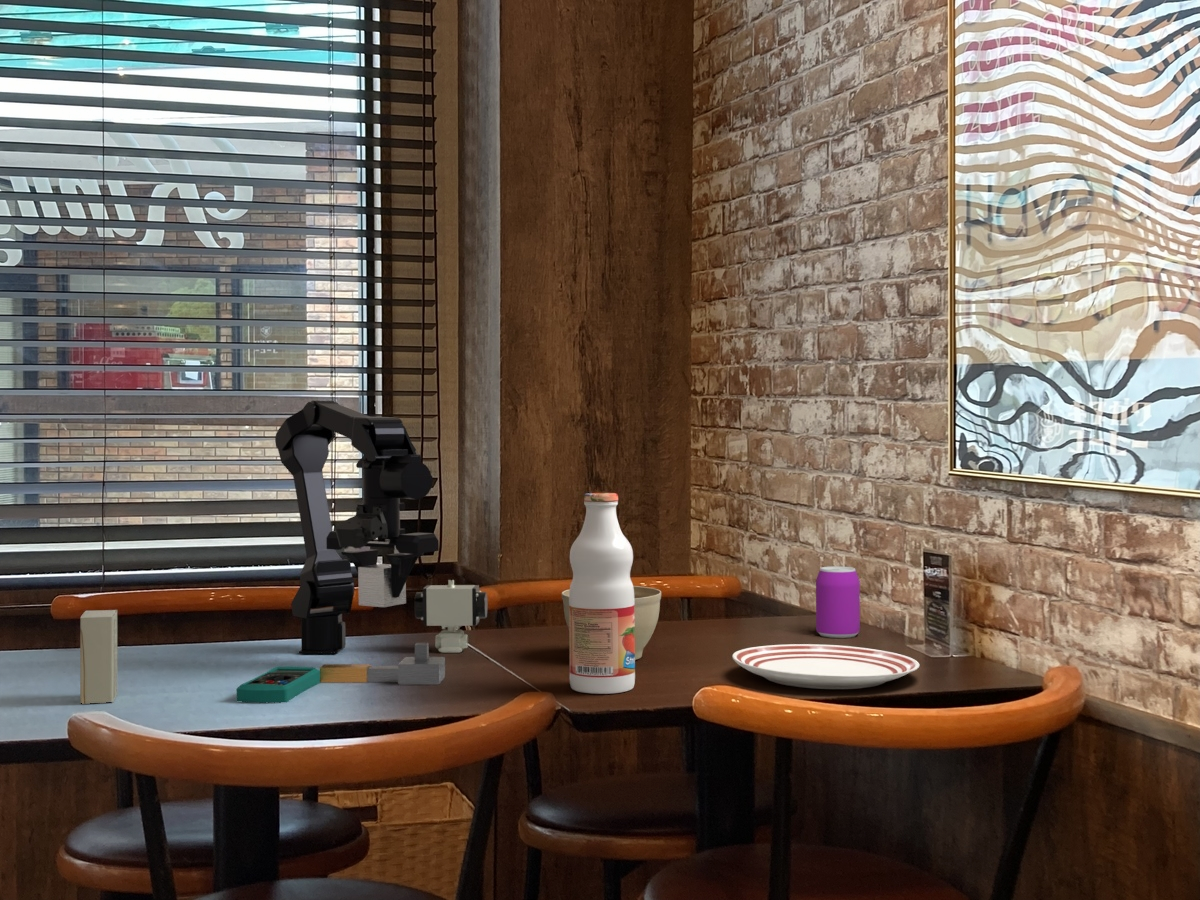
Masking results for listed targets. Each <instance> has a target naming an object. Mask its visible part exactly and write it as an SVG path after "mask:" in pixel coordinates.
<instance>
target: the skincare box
mask: <svg viewBox="0 0 1200 900" xmlns="http://www.w3.org/2000/svg"><path fill="white" fill-rule="evenodd" d="M79 636H80V637H79V638H80V640H79V641H80V646H79V647H80V657H79V659H80V663H79V664H80V667H79V668H80V669H79V670H80V671H79V672H80V673H79V677H80V680H79V681H80V682H79V685H80V688H79V689H80V690H79V692H80V694H79V695H80V697H79V700H80V701H79V702H80V703H79V704H81V703H82V704H81V705H91V704H90V703H100V704H107V703H106V702H112V703H114V701H115V699H116V697H117V696H118V609H108V610H107V609H105V610H104V609H102V610H99V609H98V610H84V612H83V613H82V615H81V616H80V634H79Z"/></svg>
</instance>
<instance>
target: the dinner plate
mask: <svg viewBox="0 0 1200 900" xmlns="http://www.w3.org/2000/svg"><path fill="white" fill-rule="evenodd" d="M731 658H732V660H733V661H734V662H735V663H736V664H737V665H739V666H740V667H742V668H743V669H745V670H747V671H748V672H750V673H752V674H754V675H758V676H760V677H763V678H764V679H766V680H768V681H769V682H773V683H775V684H778V685H779V684H780V685H785V686H791V687H797V688H806V689H816V690H817V689H820V690H855V689H865V688H872V687H876V686H880V685H883V684H885V683H886V682H890V681H893V680H896V679H899V678H901V677H903V676H906V675H907V674H910V673H912V672H915V671H917V670H918V669H919V668H920V663H919V662H918V661H917V660H916V659H914V658H912V657H910V656H907V655H904V654H899V653H896V652H892V651H887V650H880V649H874V648H867V647H858V646H850V645H838V644H837V645H836V644H818V643H817V644H812V643H808V644H807V643H806V644H805V643H803V644H800V643H799V644H798V643H797V644H795V643H793V644H792V643H790V644H774V645H773V644H771V645H770V644H769V645H762V646H761V645H760V646H753V647H747V648H742V649H740V650H737V651H735V652H733V654H732V657H731Z"/></svg>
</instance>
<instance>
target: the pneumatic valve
mask: <svg viewBox="0 0 1200 900" xmlns="http://www.w3.org/2000/svg"><path fill="white" fill-rule="evenodd" d="M447 582H448V584H445V585H444V584H443V585H442V584H440V585H437V584H435V585H430V584H427V585H426V586H424V587H423V588H422V592H418V591H417V592H416V593H415V597H414V617H415V619H420V621H422V625H423V627H428V626H429V627H431V626H432V627H435V626H436V627H437V626H438V627H440V626H441V631H440V632H439V633H438V634H436V635H435V639H434V641H435V642H434V643H435V648H436V649H437V650H438V652H439V653H442V654H454V653H455V654H460V653H462V652H463V650H464V649H467V648H468V647H469V636H468V634H466V633H465V631H464V630H463V629H460V628H461V627H463V626H465V627H466V626H469V627H470V626H471V627H472V626H477V625H478V624H479V623H480V619H487V617H488V606H489V605H488V594H487V593H488V592H486V591H482V590H480V585H479V584H455V580H454V579H452V580H451V579H448V580H447ZM446 628H447V629H446Z"/></svg>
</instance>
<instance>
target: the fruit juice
mask: <svg viewBox="0 0 1200 900" xmlns="http://www.w3.org/2000/svg"><path fill="white" fill-rule="evenodd" d="M583 503H584V506H585V509H586V510H585V517H584V522H583V524H582V528H581V530H580V533H579V534H578V536H577V537H576V539H575V540H574V542H573V543H572V545H571V547H570V550H569V562H570V567H571V570H572V580H571V582H570V585H569V589H570V591H569V628H568V631H569V632H568V635H569V638H568V639H569V641H568V642H569V643H568V644H569V647H568V649H569V684H570V685H569V686H570V688H571V690H573V691H575V692H578V693H584V694H592V695H593V694H595V695H608V694H609V695H610V694H619V693H624V692H629V691H631V690H633V689H634V687H635V681H636V660H635V614H634V607H635V599H634V587H633V586H634V584H633V581H632V579H631V570H632V566H633V561H634V551H633V547H632V545H631V542H629V540H628V538H627V537H626V536H625V535H624V534H623V532H622V530H621V527H620V524H619V520H618V516H617V506H618V504H619V495H618V493H615V492H590V493H585V494H584V496H583Z"/></svg>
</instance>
